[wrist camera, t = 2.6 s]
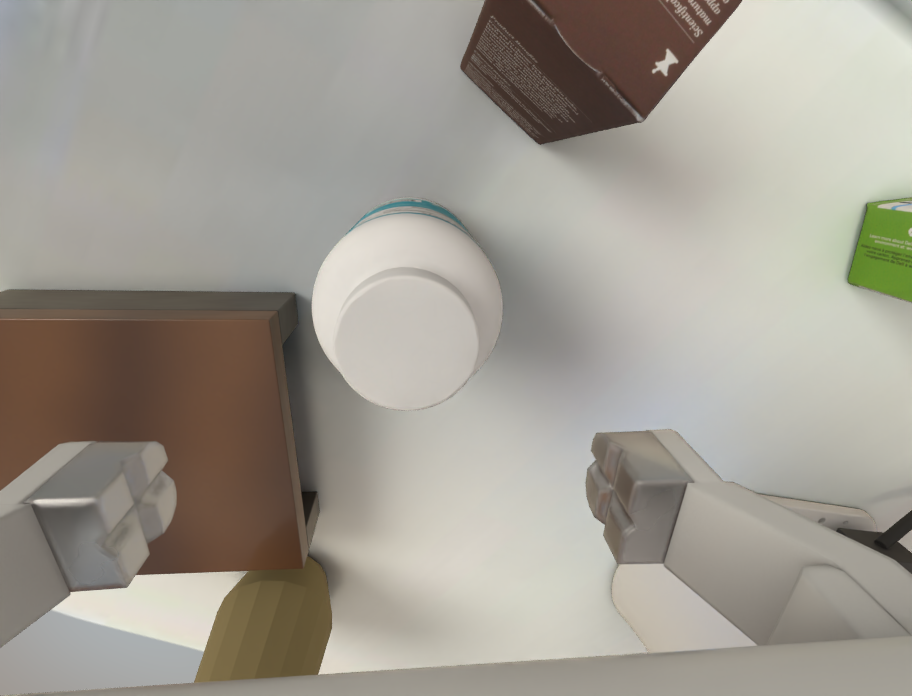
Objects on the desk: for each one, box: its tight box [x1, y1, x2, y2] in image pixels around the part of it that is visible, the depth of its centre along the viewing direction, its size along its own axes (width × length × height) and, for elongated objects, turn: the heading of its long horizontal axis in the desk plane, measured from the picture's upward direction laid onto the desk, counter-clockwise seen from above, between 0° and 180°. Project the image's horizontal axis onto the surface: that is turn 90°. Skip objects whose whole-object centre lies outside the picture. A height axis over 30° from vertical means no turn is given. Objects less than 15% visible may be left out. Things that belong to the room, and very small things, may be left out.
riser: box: [0, 290, 320, 575], centre depth 27 cm, size 16×17×5 cm
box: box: [460, 0, 742, 145], centre depth 18 cm, size 6×4×12 cm
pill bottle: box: [312, 197, 503, 411], centre depth 20 cm, size 8×7×14 cm
